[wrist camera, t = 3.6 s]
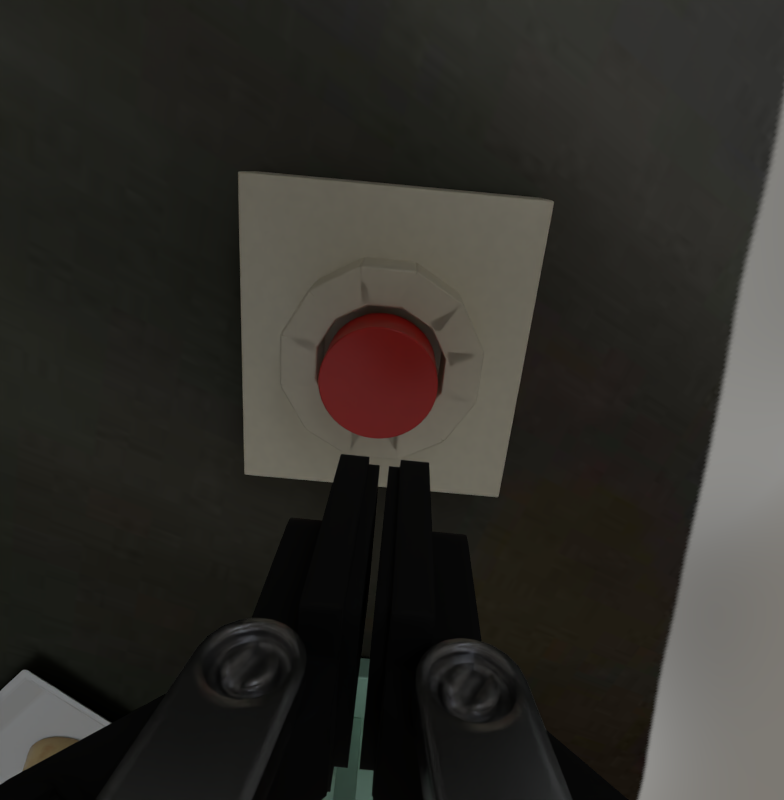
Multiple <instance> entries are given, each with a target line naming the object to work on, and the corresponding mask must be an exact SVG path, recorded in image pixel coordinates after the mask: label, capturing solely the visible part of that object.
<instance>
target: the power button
mask: <svg viewBox="0 0 784 800" xmlns="http://www.w3.org/2000/svg"><path fill="white" fill-rule="evenodd" d="M318 387H319V393H320V397H321V400H322V402H323V404H324V406H325V408H326V410H327V411H328V413H329V414H330V416H331V417H332V418H333V419H334V420H335V421H336V422H337V423H338V424H339V425H341V426H342V427H343V428H345V429H346V430H348V431H350V432H352V433H354V434H357V435H360V436H363V437H368V438H377V439H383V438H391V437H396V436H399V435H402V434H404V433H406V432H408V431H410V430H412V429H413V428H415V427H416V426H417V425H419V424H420V423H421V422H422V421H423V420H424V419H425V418H426V417H427V415H428V414H429V412H430V411H431V409H432V407H433V405H434V402H435V399H436V396H437V391H438V376H437V369H436V361H435V356H434V351H433V349H432V346H431V344H430V342H429V340H428V338H427V337H426V336H425V334H424V333H423V332H422V331H421V330H420V329H419V328H418V327H417V326H416V325H414V324H413V323H412V322H410V321H408V320H407V319H405V318H402V317H400V316H397V315H394V314H388V313H371V314H366V315H362V316H360V317H357V318H355V319H353V320H351V321H349V322H348V323H347V324H345V325H344V326H343V327H342V328H341V329H340V330H339V331H338V332H337V333H336V335H335V336H334V338H333V339H332V341H331V343H330V345H329V347H328V349H327V352H326V354H325V356H324V358H323V361H322V363H321V366H320V370H319V376H318Z"/></svg>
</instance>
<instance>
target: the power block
mask: <svg viewBox="0 0 784 800" xmlns="http://www.w3.org/2000/svg"><path fill="white" fill-rule="evenodd" d="M238 199H239V246H240V292H241V339H242V385H243V432H244V473H245V475H255V476H266V477H277V478H289V479H300V480H311V481H322V482H333V481H334V477H335V473H336V470H337V466H338V463H339V459H340V456H341V454H347V455H357V456H367V457H369V458H370V459H369V464H372V465H380V470H379V482H378V487H387V481H388V471H389V466H393V467H400V462H401V460H409V461H419V462H429V469H430V491H434V492H445V493H456V494H468V495H479V496H490V497H498V496H499V491H500V486H501V480H502V475H503V470H504V465H505V459H506V454H507V449H508V443H509V438H510V433H511V428H512V422H513V417H514V412H515V406H516V401H517V396H518V391H519V385H520V380H521V375H522V369H523V364H524V359H525V354H526V348H527V343H528V338H529V332H530V327H531V322H532V317H533V311H534V306H535V301H536V295H537V290H538V285H539V280H540V274H541V269H542V264H543V258H544V253H545V248H546V243H547V237H548V232H549V227H550V221H551V216H552V211H553V206H554V201H552V200H548V199H543V198H538V197H528V196H517V195H507V194H496V193H485V192H474V191H464V190H453V189H442V188H431V187H421V186H410V185H399V184H388V183H378V182H367V181H356V180H345V179H335V178H324V177H313V176H303V175H292V174H281V173H270V172H260V171H240V172H238ZM371 313H388V314H394V315H397V316H400V317H402V318H405V319H407V320H408V321H410V322H412V323H413V324H414V325H416V326H417V327H418V328H419V329H420V330H421V331H422V332H423V333H424V334H425V336H426V337H427V338H428V340H429V342H430V344H431V346H432V349H433V351H434V356H435V361H436V369H437V376H438V391H437V396H436V399H435V402H434V405H433V407H432V409H431V411H430V412H429V414H428V415H427V417H426V418H425V419H424V420H423V421H422V422H421V423H420V424H419V425H417V426H416V427H415V428H413V429H412V430H410V431H408V432H406V433H404V434H402V435H399V436H396V437H391V438H383V439H377V438H368V437H363V436H360V435H357V434H354V433H352V432H350V431H348V430H346V429H345V428H343V427H342V426H341V425H339V424H338V423H337V422H336V421H335V420H334V419H333V418H332V417H331V416H330V414H329V413H328V411H327V410H326V408H325V406H324V404H323V402H322V400H321V397H320V393H319V387H318V376H319V370H320V366H321V363H322V361H323V358H324V356H325V354H326V352H327V349H328V347H329V345H330V343H331V341H332V339H333V338H334V336H335V335H336V333H337V332H338V331H339V330H340V329H341V328H342V327H343V326H344V325H345V324H347V323H348V322H349V321H351V320H353V319H355V318H357V317H360V316H362V315H366V314H371Z"/></svg>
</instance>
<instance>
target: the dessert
mask: <svg viewBox="0 0 784 800" xmlns="http://www.w3.org/2000/svg"><path fill="white" fill-rule="evenodd" d="M111 723H113V722H112V721H110V720H108V719H107V718H105V717H104V716H102V715H100V714H99V713H97V712H96V711H94V710H92V709H91V708H89V707H88V706H86V705H85V704H83V703H81V702H80V701H78V700H77V699H75V698H73V697H72V696H70V695H69V694H67V693H65V692H64V691H62V690H61V689H59V688H58V687H56V686H54V685H53V684H51V683H50V682H48V681H46V680H44V679H43V678H41V677H39V676H37V675H36V674H34V673H32V672H30V671H28V670H22V671H21V672H20V673H19V674H18V675H17V676H16V677H15V678H14V679H13V680H11V681H10V682H9V683H8V684H7V685H6V686H5V687H4V688H3V689H2V690H1V691H0V784H2V783H3V782H5V781H6V780H8V779H10V778H11V777H13V776H15V775H17V774H19V773H21V772H22V771H24V770H26V769H28V768H30V767H32V766H34V765H35V764H37V763H39V762H41V761H43V760H45V759H46V758H48V757H50V756H52V755H54V754H56V753H57V752H59V751H61V750H63V749H65V748H67V747H69V746H70V745H72V744H74V743H76V742H78V741H80V740H81V739H83V738H85V737H87V736H89V735H91V734H92V733H94V732H96V731H98V730H100V729H102V728H104V727H105V726H107V725H109V724H111Z"/></svg>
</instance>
